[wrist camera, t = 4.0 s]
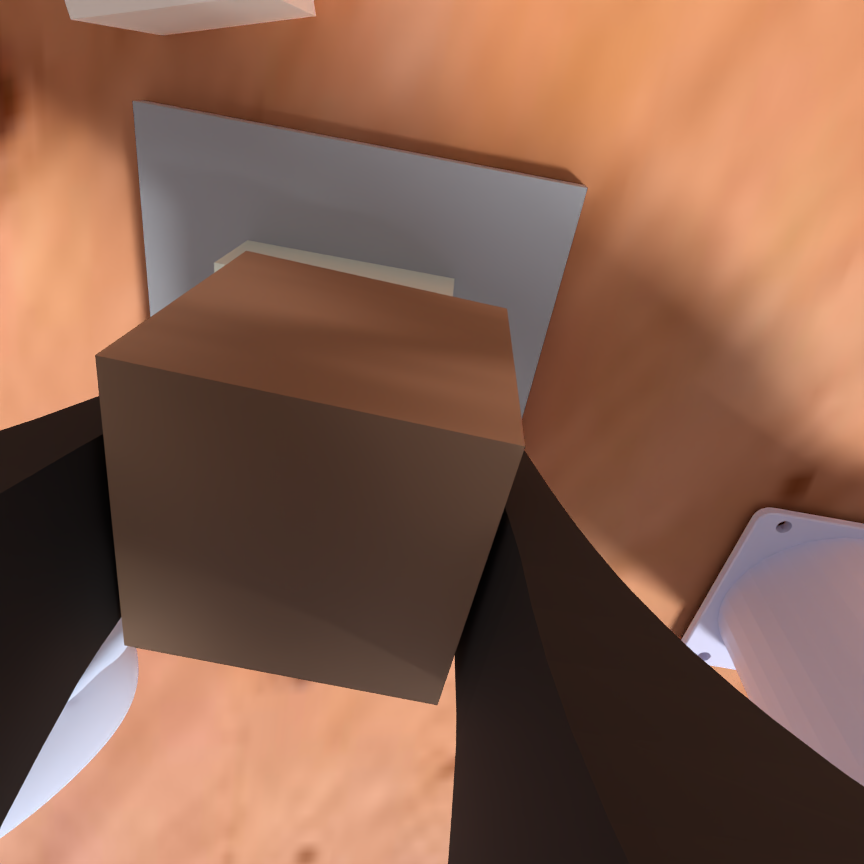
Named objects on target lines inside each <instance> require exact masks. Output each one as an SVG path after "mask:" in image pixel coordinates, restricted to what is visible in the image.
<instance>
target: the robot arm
mask: <svg viewBox="0 0 864 864" xmlns="http://www.w3.org/2000/svg"><path fill="white" fill-rule="evenodd" d="M783 521H786V522H785V523H784V524H782V525H780V526H777V525H778V524H779V523H781V522H783ZM120 618H121V608H120V598H119V588H118V578H117V568H116V558H115V548H114V538H113V528H112V518H111V508H110V498H109V488H108V478H107V468H106V458H105V448H104V438H103V428H102V418H101V408H100V398H99V396H98V397H95V398H92V399H90V400H87V401H84V402H81V403H79V404H76V405H73V406H70V407H68V408H65V409H62V410H59V411H57V412H54V413H51V414H48V415H46V416H43V417H40V418H37V419H34V420H31V421H28V422H25V423H22V424H19V425H16V426H13V427H10V428H7V429H4V430H1V431H0V828H1V826H2V824H3V822H4V820H5V818H6V816H7V814H8V812H9V810H10V808H11V806H12V804H13V802H14V801H15V799H16V797H17V795H18V793H19V791H20V789H21V787H22V785H23V783H24V781H25V780H26V778H27V776H28V774H29V772H30V770H31V768H32V766H33V764H34V762H35V760H36V758H37V757H38V755H39V753H40V751H41V749H42V747H43V745H44V743H45V742H46V740H47V738H48V736H49V734H50V732H51V731H52V729H53V727H54V725H55V723H56V722H57V720H58V718H59V716H60V714H61V713H62V711H63V709H64V707H65V705H66V703H67V702H68V700H69V698H70V696H71V694H72V693H73V691H74V689H75V687H76V685H77V684H78V682H79V680H80V679H81V677H82V675H83V674H84V672H85V671H86V669H87V667H88V666H89V664H90V663H91V661H92V660H93V658H94V656H95V655H96V653H97V652H98V650H99V649H100V647H101V646H102V644H103V643H104V642H105V640H106V639H107V637H108V636H109V634H110V633H111V631H112V630H113V629H114V627H115V626H116V624H117V623H118V621H119V620H120ZM709 665H711V666H717V667H723V668H729V669H735V670H737V673H738V675H739V677H740V679H741V682H742V684H743V686H744V688H745V690H746V693H747V695H748V697H749V699H750V700H749V699H748V698H747V697H745V696H744V695H743V694H742V693H740V692H739V691H738V690H737V689H736V688H734V687H733V686H732V685H731V684H730V683H729V682H728V681H726V680H725V679H724V678H723V677H722V676H721V675H720V674H718V673H717V672H716V671H715V670H714V669H713V668H712V667H710V666H709ZM455 682H456V713H457V715H456V756H455V771H454V787H453V803H452V818H451V831H450V845H449V859H448V864H864V524H863V523H858V522H852V521H846V520H841V519H835V518H829V517H824V516H818V515H812V514H807V513H801V512H795V511H790V510H784V509H778V508H773V507H766V508H763V509H760V510H758V511H757V512H755V514H754V515H753V516H752V518H751V519H750V521H749V523H748V525H747V526H746V528H745V530H744V532H743V533H742V535H741V537H740V539H739V540H738V542H737V544H736V545H735V547H734V549H733V551H732V552H731V554H730V556H729V558H728V559H727V561H726V563H725V565H724V566H723V568H722V570H721V572H720V573H719V575H718V577H717V579H716V580H715V582H714V584H713V585H712V587H711V589H710V591H709V592H708V594H707V596H706V598H705V599H704V601H703V603H702V605H701V606H700V608H699V610H698V612H697V613H696V615H695V617H694V619H693V620H692V622H691V624H690V625H689V627H688V629H687V631H686V632H685V634H684V636H683V638H682V639H681V640H680V639H679V638H678V637H677V636H676V635H675V634H674V633H673V632H672V631H671V630H670V629H669V628H668V627H666V626H665V625H664V624H663V622H662V621H661V620H660V619H659V618H658V617H657V616H656V615H655V614H654V613H653V612H652V611H651V610H650V609H649V608H648V607H647V606H646V605H645V604H644V603H643V602H642V601H641V600H640V599H639V598H638V597H637V596H636V595H635V594H634V593H633V592H632V591H631V590H630V589H629V588H628V587H627V585H626V584H625V583H624V582H623V581H622V580H621V579H620V578H619V577H618V576H617V574H616V573H615V572H614V571H613V570H612V569H611V567H610V566H609V565H608V564H607V563H606V561H605V560H604V559H603V558H602V557H601V555H600V554H599V553H598V552H597V551H596V550H595V548H594V547H593V546H592V545H591V544H590V542H589V541H588V540H587V538H586V537H585V536H584V535H583V533H582V532H581V531H580V530H579V528H578V527H577V526H576V524H575V523H574V522H573V520H572V519H571V518H570V516H569V515H568V514H567V512H566V511H565V509H564V508H563V507H562V505H561V504H560V503H559V501H558V500H557V498H556V497H555V495H554V494H553V493H552V491H551V490H550V488H549V487H548V485H547V484H546V482H545V481H544V479H543V478H542V476H541V475H540V473H539V472H538V470H537V469H536V467H535V466H534V464H533V463H532V461H531V460H530V458H529V457H528V455H527V454H526V452H525V451H524V452H523V455H522V458H521V461H520V463H519V466H518V469H517V472H516V475H515V478H514V481H513V484H512V487H511V490H510V493H509V496H508V499H507V502H506V505H505V508H504V511H503V513H502V516H501V519H500V522H499V525H498V528H497V531H496V534H495V537H494V540H493V543H492V546H491V549H490V552H489V555H488V558H487V561H486V564H485V566H484V569H483V572H482V575H481V578H480V581H479V584H478V587H477V590H476V593H475V596H474V599H473V602H472V605H471V608H470V611H469V614H468V616H467V619H466V622H465V625H464V628H463V631H462V634H461V637H460V640H459V643H458V646H457V649H456V652H455Z"/></svg>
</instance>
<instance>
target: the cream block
mask: <svg viewBox="0 0 864 864" xmlns="http://www.w3.org/2000/svg"><path fill="white" fill-rule="evenodd" d="M64 1H65V4H66V7H67V10H68V13H69V16H70V19H71V20H76V21H82V22H87V23H93V24H99V25H105V26H111V27H116V28H122V29H128V30H134V31H140V32H145V33H151V34H157V35H170V34H178V33H186V32H194V31H202V30H210V29H218V28H226V27H234V26H242V25H250V24H258V23H266V22H274V21H282V20H290V19H298V18H306V17H314V16H316V13H315V6H314V0H64Z"/></svg>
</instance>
